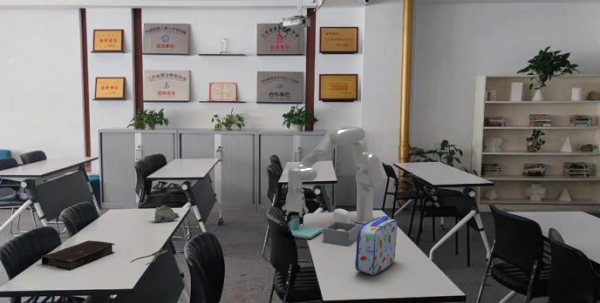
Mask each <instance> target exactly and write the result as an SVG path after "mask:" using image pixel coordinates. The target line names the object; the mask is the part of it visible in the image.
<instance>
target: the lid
mask: <svg viewBox="0 0 600 303" xmlns="http://www.w3.org/2000/svg"><path fill="white" fill-rule="evenodd" d="M324 228H325V227H317V226H311V225H310V226H309V225H304V224H299V218H292V219H291V221H290V222H289V230H291V232H292V234H293V236H294V238H298V239H299V238H300V239H306V240H308V239H309V240H310V239H312V238H313V237H315V236H316V235H318V234H320V233H321V232H323V229H324Z"/></svg>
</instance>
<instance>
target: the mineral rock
mask: <svg viewBox="0 0 600 303" xmlns="http://www.w3.org/2000/svg"><path fill="white" fill-rule="evenodd" d="M179 218H180V216H179V213H178V212H175V211H174V209H173V208H171V207H169V206H167V205H165V204H164V205H161V206H157V207H156V206H155V211H154V223H157V222H159V223H164V222H166V223H167V222H171V221H174V220H177V219H179ZM157 224H158V223H157Z"/></svg>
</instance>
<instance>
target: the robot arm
mask: <svg viewBox="0 0 600 303" xmlns="http://www.w3.org/2000/svg"><path fill="white" fill-rule="evenodd" d="M365 136H366V132H365V130H364V129H363V128H362V127H360V126H352V125H344V126H342V127H341V128H340V129H338V128H337V129H336V128H331V129H329V130H328V131H327V132H326V133H325V134H324V136H323V137H322V139H321V140H320V141H319V143H318V145H317V146H316V147H315V148H314V149H313V150H311V151H310V152H309V153H307V154H306V155H305V156H304V157H303V158H302V159H301V160H300V162H299V164H297V166H296V167H291V168H290V167H289V168H288V171H287V177H288V178H287V179H288V180H287V185H288V186H287V187H288V188H287V190H288V191H287V193H286V199H285V204H284V205H282V207H281V209H282V211H283V212H284V213H285V215H286V221H287V223H289V224H290V221H291V220H292V215H291V213H292V212H294V213H299V214H298V215H299V218H298V219H299V225H303V224H304V217H305V216H306V214H307V213H308V212H309V211H310V210H309V209H308V207H307V206H306V199H305V194H304V192H305V189H303V182H312V181H313V182H314V181H315V180H316V179H317V176H318V172H317V170H316V169H315V168H313V166H314V165H315V164H316V163H318V162H320V161H323V160H326V159H327V158H329V157H330V155H331V154H332V153H333V150H334V149H335V148H336V147H337V145H338V146H345V145H346V146H347V145H351V147H352V153H353V157H354V162H355V165H356V166H357V167H358V168H361V169H359V170H358V171H357V172H356V174H355V183H356V217H354V219H353V222H355V224H360V225H361V224H362V225H364V224H366V223H368V222H370V221H373V220H375V219H376V218H373V217H374V216H373V215H374V214H373V210H374V189H375V188H378V187H381V185H382V183H383V172H382V167H381V161H380V158H379V156H378V155H377V154H376V153H373V152H369V148H368V144H367V142H366V139H365Z"/></svg>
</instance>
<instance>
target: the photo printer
mask: <svg viewBox="0 0 600 303" xmlns="http://www.w3.org/2000/svg"><path fill="white" fill-rule="evenodd" d="M350 216H351V214H350V212H349V211H348V210H345V209H343V208H335V209H334V210H333V222H335V221H336V222H344V223H351V222H350V221H351V217H350Z"/></svg>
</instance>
